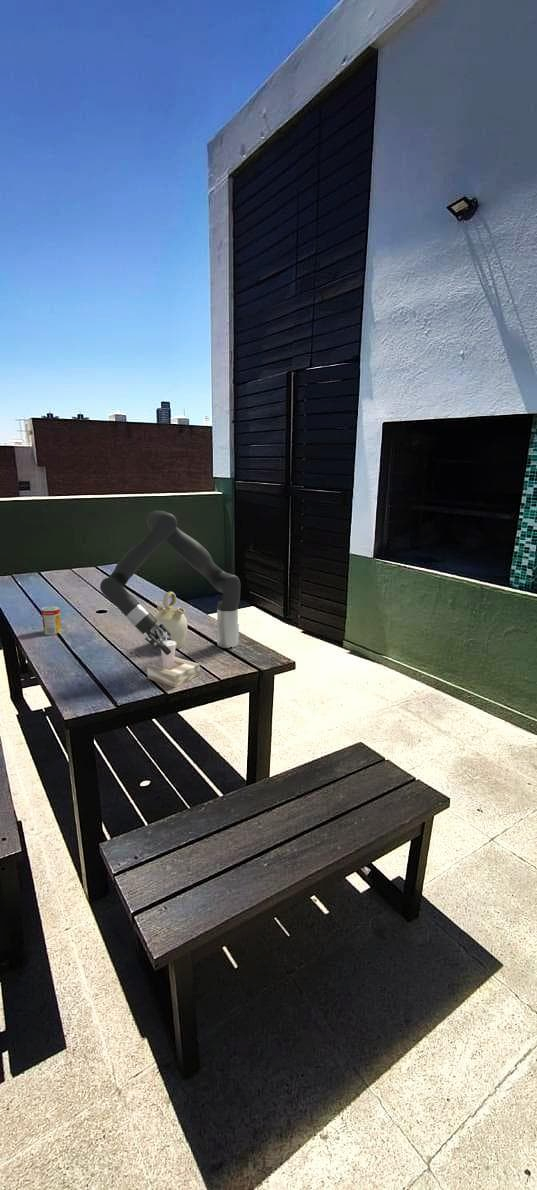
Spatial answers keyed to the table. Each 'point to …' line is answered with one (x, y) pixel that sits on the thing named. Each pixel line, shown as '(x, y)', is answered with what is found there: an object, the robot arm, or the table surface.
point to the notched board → (174, 672)
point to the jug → (172, 619)
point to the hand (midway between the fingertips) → (172, 650)
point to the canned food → (51, 620)
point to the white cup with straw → (168, 659)
